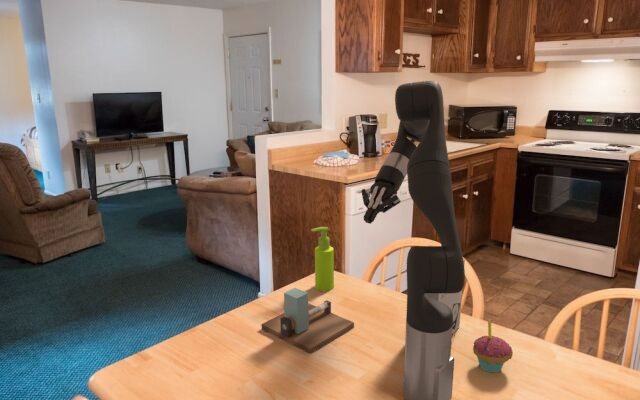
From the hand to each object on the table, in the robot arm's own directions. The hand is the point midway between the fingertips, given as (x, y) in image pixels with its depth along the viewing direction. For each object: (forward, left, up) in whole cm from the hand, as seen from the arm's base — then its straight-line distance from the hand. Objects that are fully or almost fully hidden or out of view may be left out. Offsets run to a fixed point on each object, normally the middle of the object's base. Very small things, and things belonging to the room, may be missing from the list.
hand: (367, 221), depth 136 cm
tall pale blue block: (+4, +24, -24) cm, 35 cm away
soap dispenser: (+18, -1, -26) cm, 32 cm away
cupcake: (-40, +5, -26) cm, 48 cm away
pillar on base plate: (+4, +20, -26) cm, 33 cm away
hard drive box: (-23, +1, -26) cm, 35 cm away
